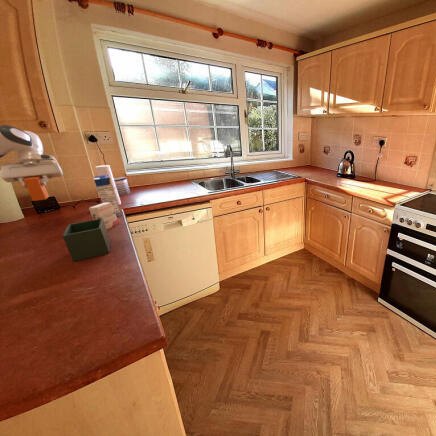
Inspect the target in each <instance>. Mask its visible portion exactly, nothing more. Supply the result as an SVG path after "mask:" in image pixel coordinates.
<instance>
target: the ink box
mask: <svg viewBox="0 0 436 436" xmlns="http://www.w3.org/2000/svg"><path fill="white" fill-rule="evenodd" d="M88 210H89V213H90V215H91V218H92V220H95V219H101V218H103V220H104V223H105V226H106V229H107V230H109V229H111V228H113V227H115V226H118V225H119V224H120V223H119V222H120V221H119V220H118V217H116V214H115V211H114V209H113V206H112V203H109V202H106V203H102V202H101V203H99V204H97V205H93V206H90V207H88Z"/></svg>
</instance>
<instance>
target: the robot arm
mask: <svg viewBox="0 0 436 436" xmlns="http://www.w3.org/2000/svg"><path fill="white" fill-rule="evenodd" d="M13 151H14V152H16V153H17V162H11V163H9V162H8V163H4V164H2V165H1V166H0V178H1V179H2V180H3V181H4V182H6V183H16V182H20V184H22V187H23V188H24V189H27V187H26V184H25V182H24V179H25V178H27V177H35V176H41V178H42V181H40V182H41V183H40V184H41V185H42V186H44V185H45V186H47V182H48V181H49V179H51V178H52V179H53V178H61V177H63V176H64V172H63V169H62V168H61V166H60V164H59V162H58V161H57V159H56V158H55V156H54V155H52V154H45V153H44V145H43V143H42V140H41V138H40V137H39V135H38V134H36V133H35V132H33V131H30V130H22V129H21V128H17V127H15V126H12V125H8V124H2V125H0V159H1V158H4V157H5V156H6V155H8V154H9V153H11V152H13Z"/></svg>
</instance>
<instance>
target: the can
mask: <svg viewBox="0 0 436 436" xmlns="http://www.w3.org/2000/svg"><path fill="white" fill-rule="evenodd" d="M114 182H115V185H116V188H117V191H118V195H119V197H121V196H127V195H129V194H131V189H130V186H129V183H128V180H127V176H122V177H121V176H120V177H115V178H114Z"/></svg>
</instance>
